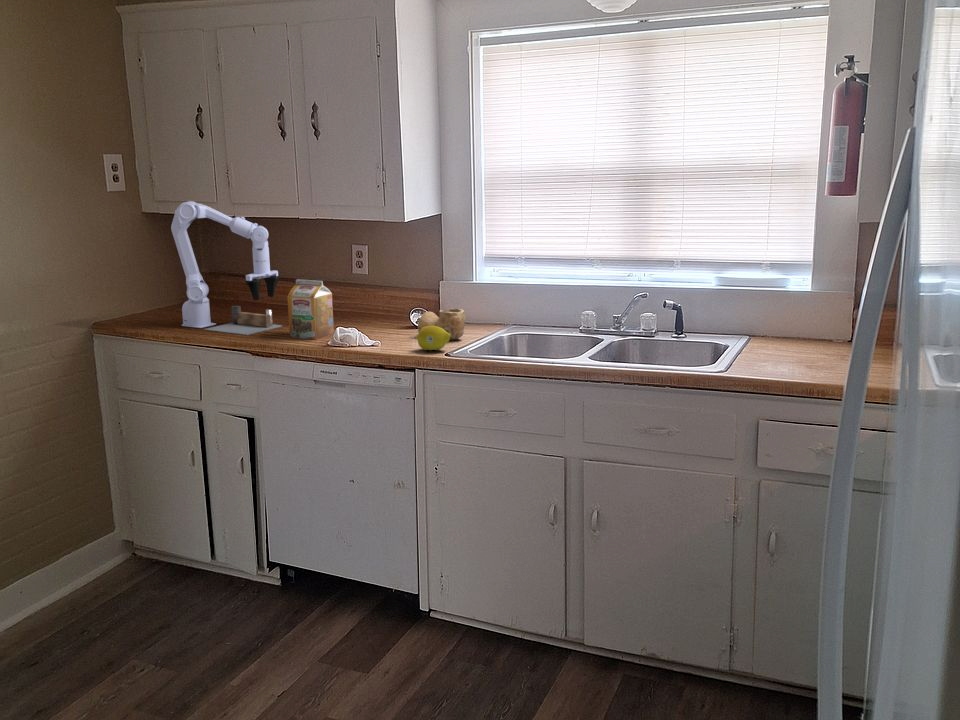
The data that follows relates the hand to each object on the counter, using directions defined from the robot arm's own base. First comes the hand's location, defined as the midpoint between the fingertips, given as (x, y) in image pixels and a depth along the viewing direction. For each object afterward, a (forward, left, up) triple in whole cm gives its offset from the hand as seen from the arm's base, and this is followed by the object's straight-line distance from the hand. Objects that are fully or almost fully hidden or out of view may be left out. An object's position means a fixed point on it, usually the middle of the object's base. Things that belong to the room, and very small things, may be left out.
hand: (263, 298), depth 316 cm
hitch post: (+5, -3, -9) cm, 11 cm away
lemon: (+78, -10, -10) cm, 79 cm away
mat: (-1, -10, -9) cm, 14 cm away
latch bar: (-2, -6, -9) cm, 11 cm away
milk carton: (+29, -9, -10) cm, 32 cm away
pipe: (+71, +8, -10) cm, 72 cm away
